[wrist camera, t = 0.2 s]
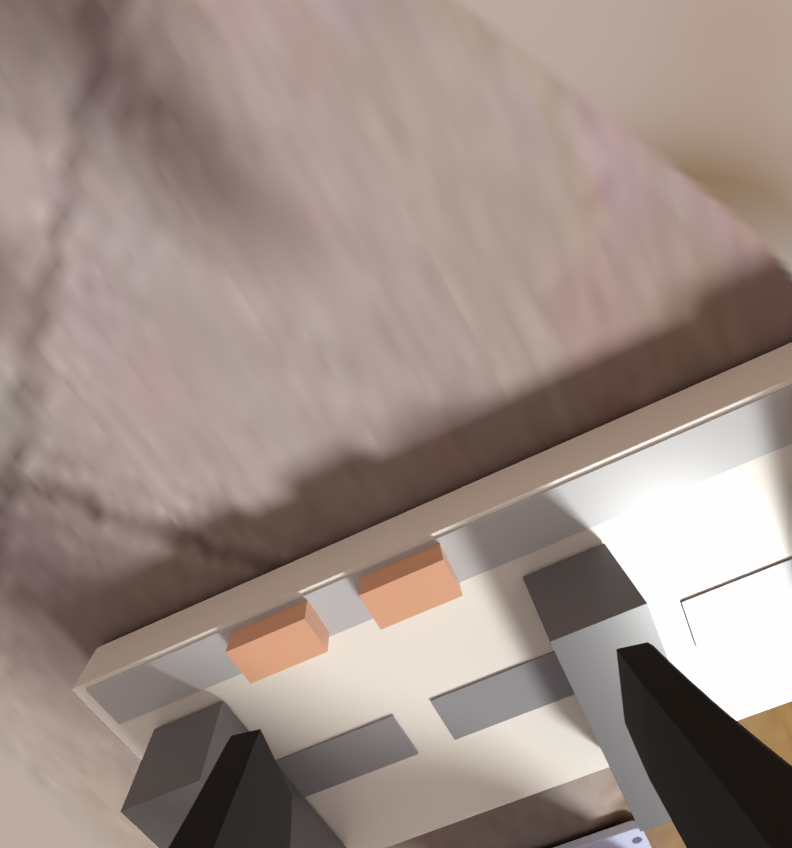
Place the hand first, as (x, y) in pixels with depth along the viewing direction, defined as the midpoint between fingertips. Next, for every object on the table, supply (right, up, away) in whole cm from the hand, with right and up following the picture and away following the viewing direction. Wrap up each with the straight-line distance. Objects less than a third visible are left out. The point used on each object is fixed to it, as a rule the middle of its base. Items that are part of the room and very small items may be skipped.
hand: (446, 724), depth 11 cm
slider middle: (+7, -3, +10) cm, 12 cm away
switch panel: (+4, -2, +11) cm, 12 cm away
